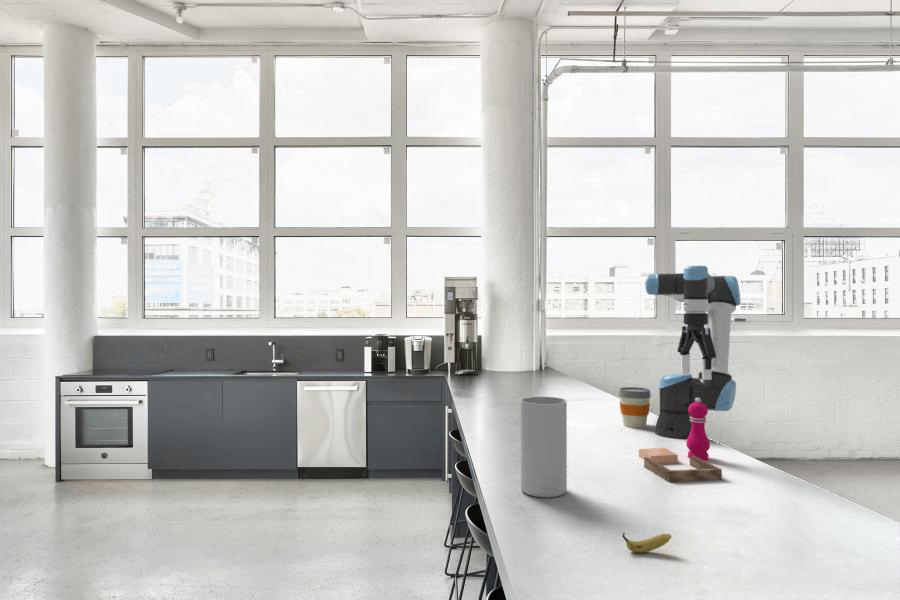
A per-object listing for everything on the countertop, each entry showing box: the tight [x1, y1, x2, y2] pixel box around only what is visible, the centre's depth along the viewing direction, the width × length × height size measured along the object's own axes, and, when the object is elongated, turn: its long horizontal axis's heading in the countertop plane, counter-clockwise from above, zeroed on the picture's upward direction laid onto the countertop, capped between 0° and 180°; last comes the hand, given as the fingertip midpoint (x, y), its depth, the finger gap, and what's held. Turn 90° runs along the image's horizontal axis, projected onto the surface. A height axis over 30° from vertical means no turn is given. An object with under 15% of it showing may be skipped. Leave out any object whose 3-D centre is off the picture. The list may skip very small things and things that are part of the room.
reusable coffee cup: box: [618, 386, 652, 429], centre depth 252 cm, size 12×12×15 cm
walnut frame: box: [643, 455, 723, 483], centre depth 184 cm, size 16×16×3 cm
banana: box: [621, 532, 672, 554], centre depth 127 cm, size 10×2×4 cm, turn 87°
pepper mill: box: [685, 398, 711, 461], centre depth 201 cm, size 7×7×20 cm
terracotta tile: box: [638, 447, 679, 465], centre depth 199 cm, size 9×9×3 cm
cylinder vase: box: [520, 396, 568, 499], centre depth 168 cm, size 12×12×25 cm
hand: (695, 376), depth 201 cm, fingers open, 13 cm apart
